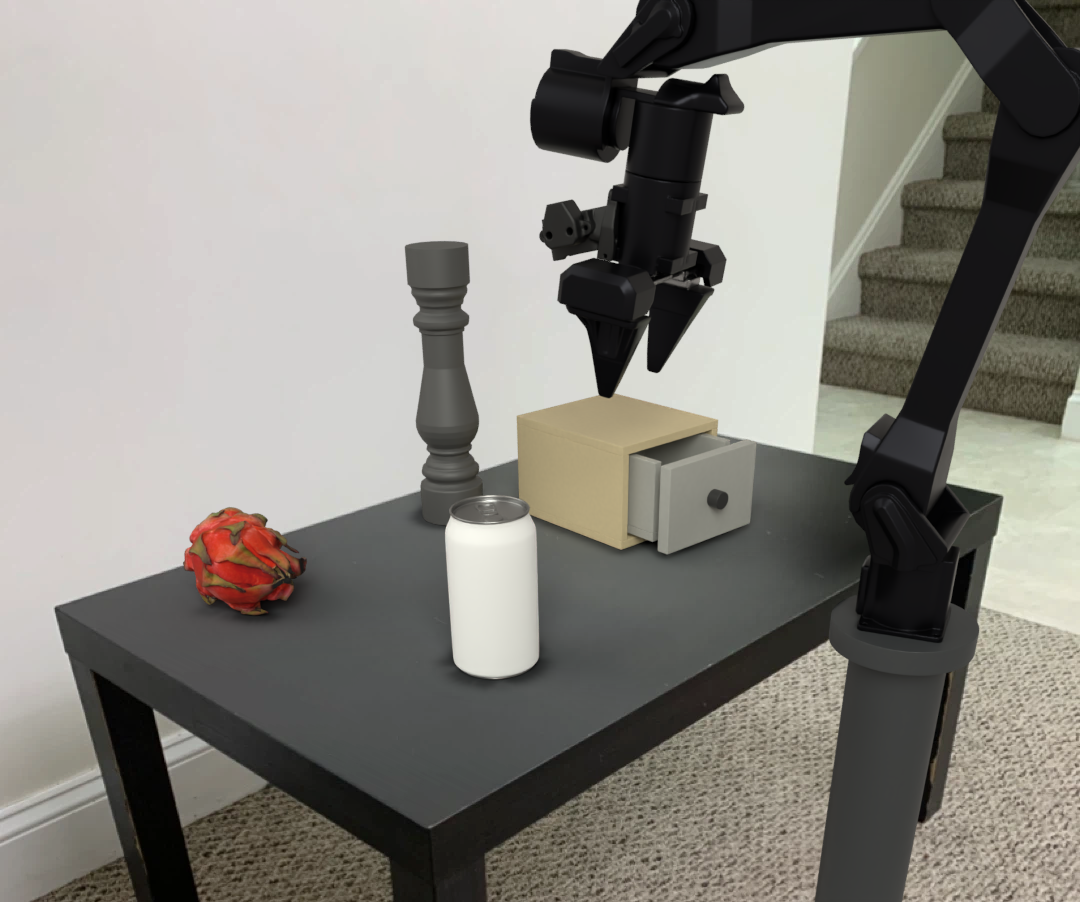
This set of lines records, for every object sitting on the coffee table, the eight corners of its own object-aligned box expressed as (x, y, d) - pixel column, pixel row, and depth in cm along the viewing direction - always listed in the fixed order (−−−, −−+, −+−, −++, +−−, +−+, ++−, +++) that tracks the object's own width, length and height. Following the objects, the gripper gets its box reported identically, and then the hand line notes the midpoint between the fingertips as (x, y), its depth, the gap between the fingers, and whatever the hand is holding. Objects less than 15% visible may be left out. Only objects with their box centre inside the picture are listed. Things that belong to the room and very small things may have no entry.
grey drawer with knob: (760, 526, 103) (767, 444, 99) (677, 558, 96) (681, 472, 92) (647, 489, 112) (650, 413, 108) (565, 516, 106) (564, 436, 102)
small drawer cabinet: (712, 516, 108) (718, 419, 103) (621, 550, 101) (623, 447, 96) (609, 482, 117) (610, 392, 112) (519, 510, 110) (516, 415, 105)
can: (463, 687, 79) (453, 529, 72) (445, 648, 84) (435, 498, 78) (549, 674, 80) (546, 518, 74) (527, 637, 85) (522, 488, 79)
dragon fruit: (216, 594, 97) (299, 651, 91) (139, 567, 90) (223, 627, 84) (258, 509, 97) (345, 561, 90) (184, 475, 89) (272, 529, 83)
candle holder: (496, 510, 110) (485, 242, 98) (460, 529, 106) (443, 251, 93) (446, 500, 113) (429, 239, 101) (410, 518, 109) (387, 247, 96)
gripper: (621, 147, 91) (594, 338, 99) (505, 164, 77) (487, 384, 85) (746, 172, 87) (707, 369, 95) (648, 194, 73) (613, 422, 82)
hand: (630, 383), depth 90 cm, fingers open, 9 cm apart
